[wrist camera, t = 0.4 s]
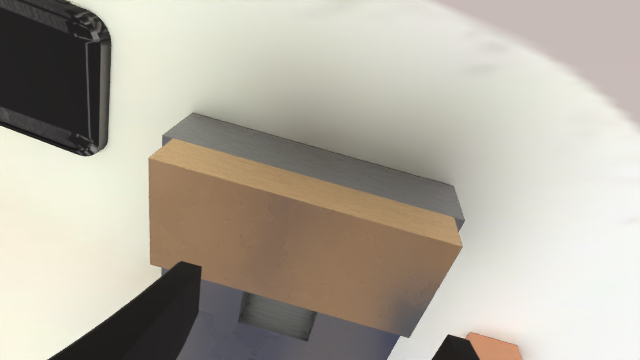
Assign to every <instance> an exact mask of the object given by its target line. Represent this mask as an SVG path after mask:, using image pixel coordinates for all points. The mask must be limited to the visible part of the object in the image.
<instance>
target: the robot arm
mask: <svg viewBox="0 0 640 360" xmlns="http://www.w3.org/2000/svg"><path fill="white" fill-rule="evenodd" d="M201 272H202V266H198V265H195V264H191V263H187V262H184V261H180V262H178V263H177V264H175V265H174V266H173V267H172V268H171V269H170V270H168V271H167V272H166V273H165V274H164V275H163V276H161V277H160V278H159V279H158V280H157V281H155V282H154V283H153V284H152V285H151V286H149V287H148V288H147V289H146V290H144V291H143V292H142V293H141V294H139V295H138V296H137V297H136V298H134V299H133V300H132V301H130V302H129V303H128V304H126V305H125V306H124V307H122V308H121V309H120V310H119V311H117V312H116V313H115V314H113V315H112V316H111V317H109V318H108V319H107V320H105V321H104V322H102V323H101V324H99V325H98V326H97V327H95V328H94V329H92V330H91V331H90V332H88V333H87V334H85V335H84V336H82V337H81V338H80V339H78V340H77V341H75V342H74V343H72V344H71V345H69V346H68V347H66V348H65V349H63V350H62V351H60V352H59V353H57V354H56V355H54V356H52V357H51V358H49V359H48V360H176V359H177V357H178V355H179V354H180V352H181V350H182V348H183V346H184V344H185V342H186V340H187V338H188V335H189V333H190V331H191V329H192V327H193V324H194V322H195V320H196V318H197V315H198V313H199V299H200V286H201ZM432 360H480V359H479V357H478V355H477V353H476V351H475V350H474V348H473V346H472V344H471V342H470V341H469V340H467V339H463V338H460V337H456V336H452V335H449V334H448V335H447V337H446V338H445V340H444V341H443V343H442V345H441V346H440V348H439V349H438V351H437V352H436V354H435V355H434V357H433V359H432Z"/></svg>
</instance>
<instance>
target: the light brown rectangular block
mask: <svg viewBox="0 0 640 360" xmlns="http://www.w3.org/2000/svg"><path fill="white" fill-rule="evenodd" d="M465 339H467V340H469V341H470V342H471V344H472V346H473V348H474V350H475V351H476V353H477V355H478V357H479V359H480V360H522V357H521V354H520V352H519V349H518V346H517V345H513V344H510V343H506V342H503V341H499V340H496V339H492V338H489V337H485V336H482V335H478V334H475V333H471V332H470V333H469V334H468V336H467V337H466V338H465Z"/></svg>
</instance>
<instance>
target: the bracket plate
mask: <svg viewBox="0 0 640 360" xmlns="http://www.w3.org/2000/svg"><path fill="white" fill-rule="evenodd" d="M149 217H150V264H151V265H155V266H158V267H162V276H163V275H164V274H165V273H166V272H167V271H168V270H170V269H171V268H172V267H173V266H174V265H175V264H177V263H178V262H180V261H184V262H187V263H191V264H195V265H198V266H202V272H201V286H200V299H199V313H198V315H197V318H196V320H195V322H194V324H193V327H192V329H191V331H190V333H189V335H188V338H187V340H186V342H185V344H184V346H183V348H182V350H181V352H180V354H179V355H178V357H177V359H176V360H387V358H388V356H389V355H390V353H391V351H392V349H393V347H394V346H395V344H396V342H397V340H398V339H399V337H400V336H404V337H407V338H409V337H410V336H411V334H412V332H413V330H414V329H415V327H416V325H417V324H418V322H419V320H420V318H421V317H422V315H423V313H424V312H425V310H426V308H427V307H428V305H429V303H430V301H431V300H432V298H433V296H434V295H435V293H436V291H437V289H438V288H439V286H440V284H441V283H442V281H443V279H444V278H445V276H446V274H447V272H448V271H449V269H450V267H451V266H452V264H453V262H454V260H455V259H456V257H457V255H458V254H459V252H460V250H461V249H462V243H461V240H460V236H459V233H458V232H459V230H460V228H461V227H462V225H463V223H464V221H465V219H464V216H463V213H462V210H461V207H460V204H459V201H458V198H457V195H456V192H455V189H454V186H451V185H447V184H444V183H440V182H437V181H433V180H430V179H426V178H422V177H419V176H415V175H412V174H408V173H405V172H401V171H398V170H394V169H390V168H387V167H383V166H380V165H376V164H373V163H369V162H366V161H362V160H358V159H355V158H351V157H348V156H344V155H341V154H337V153H333V152H330V151H326V150H323V149H319V148H316V147H312V146H309V145H305V144H301V143H298V142H294V141H291V140H287V139H284V138H280V137H277V136H273V135H269V134H266V133H262V132H259V131H255V130H252V129H248V128H245V127H241V126H237V125H234V124H230V123H227V122H223V121H220V120H216V119H212V118H209V117H205V116H202V115H198V114H195V113H192V114H190V115H189V116H188V117H186V118H185V119H184V120H182V121H181V122H180V123H178V124H177V125H176V126H174V127H173V128H172V129H170V130H169V131H168V132H166V133H165V134H164V135H162V148H160V149H159V150H158V151H157V152H155V153H154V154H153V155H152V156H150V157H149Z"/></svg>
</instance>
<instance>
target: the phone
mask: <svg viewBox="0 0 640 360" xmlns="http://www.w3.org/2000/svg"><path fill="white" fill-rule="evenodd" d="M110 66H111V37H110V34H109V32H108V29H107V27H106V26H105V24H104V23H103V21H102V20H101V19H100V18H99V17H97V16H96V15H95V14H93V13H92V12H90V11H88V10H85V9H83V8H80V7H78V6H75V5H73V4H70V3H68V2H66V1H63V0H0V126H3V127H6V128H8V129H11V130H14V131H16V132H19V133H22V134H24V135H27V136H30V137H32V138H35V139H38V140H40V141H43V142H46V143H48V144H51V145H54V146H56V147H59V148H62V149H64V150H67V151H70V152H72V153H75V154H78V155H81V156H91V155H94V154H95V153H97V152H99V151H100V150H102V149H103V148H104V147H105V146H106V145H107V141H108V121H109V94H110Z"/></svg>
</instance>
